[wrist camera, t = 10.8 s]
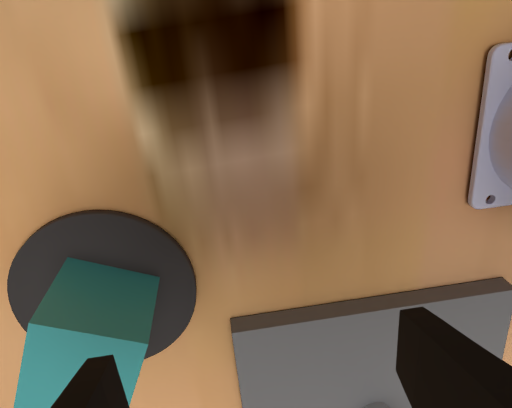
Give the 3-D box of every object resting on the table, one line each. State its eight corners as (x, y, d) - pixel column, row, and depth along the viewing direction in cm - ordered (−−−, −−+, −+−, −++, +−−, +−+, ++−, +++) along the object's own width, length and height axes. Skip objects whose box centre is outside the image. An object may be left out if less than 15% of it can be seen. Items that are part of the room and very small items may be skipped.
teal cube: (159, 277, 20) (148, 344, 16) (139, 344, 22) (124, 422, 17) (67, 257, 19) (28, 323, 15) (52, 329, 21) (13, 408, 16)
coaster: (180, 198, 19) (180, 203, 19) (207, 343, 23) (207, 351, 22) (-15, 223, 19) (-22, 229, 18) (44, 368, 22) (40, 377, 22)
